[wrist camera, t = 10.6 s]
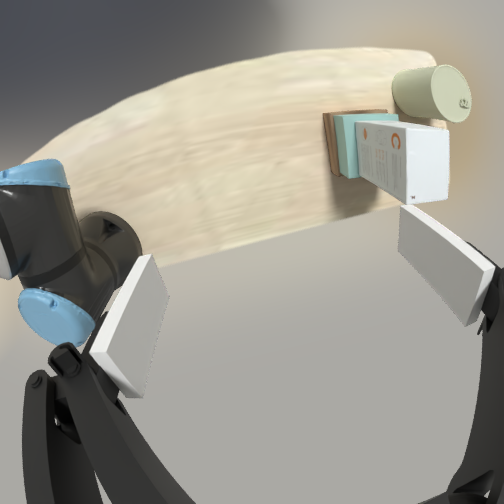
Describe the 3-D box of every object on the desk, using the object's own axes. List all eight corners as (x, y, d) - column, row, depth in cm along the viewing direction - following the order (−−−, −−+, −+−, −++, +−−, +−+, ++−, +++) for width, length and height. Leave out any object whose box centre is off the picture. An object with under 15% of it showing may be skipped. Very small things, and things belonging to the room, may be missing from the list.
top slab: (339, 172, 39) (349, 178, 36) (333, 115, 35) (342, 116, 32) (389, 167, 39) (401, 172, 35) (385, 113, 35) (398, 114, 31)
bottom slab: (330, 171, 43) (338, 176, 40) (321, 113, 39) (329, 113, 35) (382, 164, 43) (392, 169, 39) (376, 109, 38) (387, 109, 34)
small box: (395, 172, 35) (448, 201, 24) (358, 175, 36) (405, 207, 24) (392, 119, 32) (450, 129, 20) (353, 119, 32) (404, 127, 20)
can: (426, 124, 38) (468, 133, 28) (387, 105, 37) (428, 108, 27) (434, 82, 34) (476, 82, 23) (395, 61, 33) (436, 53, 22)
